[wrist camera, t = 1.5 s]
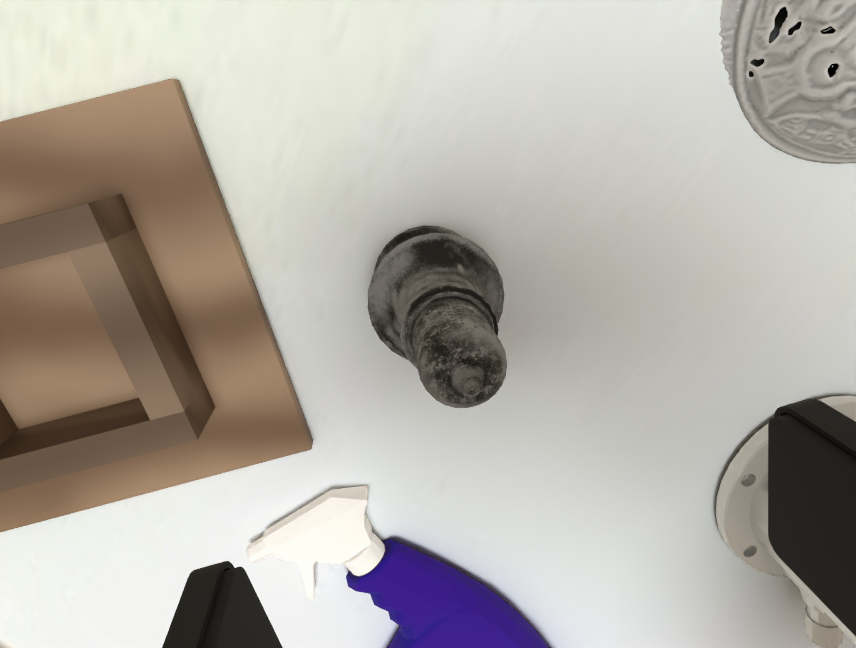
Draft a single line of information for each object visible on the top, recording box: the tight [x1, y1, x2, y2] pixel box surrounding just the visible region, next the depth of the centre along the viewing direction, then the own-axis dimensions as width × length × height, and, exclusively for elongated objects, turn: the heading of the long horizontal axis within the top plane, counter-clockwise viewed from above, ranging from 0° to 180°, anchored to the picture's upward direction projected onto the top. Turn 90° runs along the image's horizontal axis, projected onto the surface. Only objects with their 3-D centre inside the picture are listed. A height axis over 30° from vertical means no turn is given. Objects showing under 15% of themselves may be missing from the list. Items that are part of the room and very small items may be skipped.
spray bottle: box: [246, 486, 549, 648], centre depth 33 cm, size 3×11×24 cm
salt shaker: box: [368, 226, 507, 408], centre depth 21 cm, size 6×6×12 cm
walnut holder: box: [0, 79, 313, 532], centre depth 24 cm, size 18×18×4 cm
